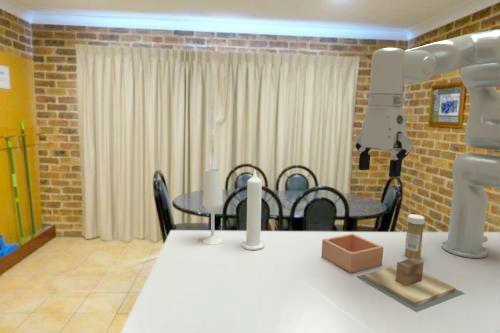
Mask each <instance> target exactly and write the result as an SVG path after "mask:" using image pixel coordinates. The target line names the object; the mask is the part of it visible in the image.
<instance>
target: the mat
mask: <svg viewBox="0 0 500 333" xmlns="http://www.w3.org/2000/svg"><path fill="white" fill-rule="evenodd" d="M395 266H397V264H396V265H395ZM390 267H391V266H390ZM390 267H388V268H390ZM379 270H380V269H379ZM379 270H377V271H379ZM370 273H372V272H370ZM365 274H366V273H364V274H361V275H356V278H357V279H359V280H360V281H362V282H364V283H365V284H367V285H369V286H371V287H372V288H374V289H376V290H377V291H378V292H381V293H383V294H384V295H385V296H388V297H389V298H392V299H393V300H395V301H396V302H397V303H400V304H402V305H403V306H405V307H406V308H409V309H410V310H411V311H414V312H415V313H418V312H420V311H423V310H426V309H428V308H430V307H434V306H436V305H439V304H441V303H443V302H444V303H445V302H446V301H449V300H452V299H455V298H457V297H459V296H462V295H464V294H466V292H464V291H461V290H459V289H457V288H456V290H455V292H453V293H451V294H448V295H445V296H443V297H440V298H437V299H435V300H432V301H429V302H426V303H424V304H421V305H418V306H416V307H414V306H412V305H411V304H409V303H407V302H405V301H404V300H402V299H400V298H398V297H397V296H395V295H393V294H391V293H390V292H388V291H386V290H384V289H383V288H381V287H379V286H377V285H376V284H374V283H372V282H370V281H369V280H367V279H365V278H364V276H365Z"/></svg>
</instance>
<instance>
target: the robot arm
mask: <svg viewBox="0 0 500 333" xmlns="http://www.w3.org/2000/svg"><path fill="white" fill-rule="evenodd" d="M370 65H371V66H370V67H371V68H370V77H369V78H370V79H369V89H368V90H369V91H368V100H367V108H366V110H365V114H364V117H363V123H362V127H361V132H359V133H358V134H356V135H355V136H353V139H354V143H355V148H356V149H357V155H359V156H358V157H359V160H358V170H360V171H369V170H370V164H371V163H370V162H371V154H370V152H371V150H377V151H387V152H389V155H390V156H391V158H392V159H390V161H389V171H388V176H389V177H390V178H396V177H401V172H402V166H403V165H402V163H403V161H404V160H405V159H406V157H407V156H408V155H409V154H410V151H412V148H413V147H414V144H415V142H414V141H412V140H411V139H410V138H409V137H407V136H406V134H407V133H406V132H407V131H406V130H407V128H406V126H407V125H406V123H407V121H406V111H405V108H402V104H404V103H405V102H406V98H405V97H404V96H403V93H404V84H417V83H419V84H420V83H422V82H426V81H428V80H429V79H431V78H432V77H433V76H438V75H444V74H448V73H451V72H455V71H457V70H460V71H459V72H460V73H459V74H460V79H461V83H462V84H463V85H464V86H465V89H466V91H467V94H468V96H469V99H470V106H469V112H468V117H467V121H466V127H465V131H464V132H465V133H464V142H465V145H466V146H468V147H469V148H472V149H475V150H477V149H478V150H485V151H493V152H500V92H499V90H497V89H496V87H500V28H499V29H496V28H495V29H491V30H486V31H480V32H474V33H473V32H472V33H468V34H464V35H460V36H459V35H458V36H456V37H452V38H447V39H445V40H443V39H442V40H440V41H435V42H432V43H428V44H425V45H422V46H418V47H414V48H409V49H405V50H404V49H403V48H400V47H383V48H379V49H376V50H375V51H374V52H373V53H372V55H371V64H370ZM451 169H452V170H451V172H452V181H453V182H452V183H453V185H452V187H453V188H452V189H453V190H452V200H451V207H450V215H449V216H450V217H449V224H448V225H449V226H448V233H447V240H446V239H445V240H443V241H442V242H441V248H442V249H443V250H444V251H446V252H448V253H450V254H453V255H456V256H458V257H463V258H464V257H465V258H470V259H480V258H481V259H482V258H485V257H487V255H488V250H487V249H486V247H485V248H484V247H483V243H486V242H488V241H489V238H488V237H487V236H486V235H484V233H485V228H486V227H485V226H486V219H487V214H488V213H487V212H488V205H489V198H488V197H489V196H488V194H487V192H486V190H485V189H484V187H488V188H494V189H500V155H494V154H487V153H479V152H478V153H477V152H465V153H461V154H459V155H457V156H456V157H455V158H454V160H453V162H452V168H451Z"/></svg>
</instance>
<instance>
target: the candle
mask: <svg viewBox="0 0 500 333" xmlns="http://www.w3.org/2000/svg"><path fill="white" fill-rule="evenodd" d="M246 183H247V188H246V190H247V191H246V193H247V194H246V234H245V235H246V240H245V241H244V242H242V245H241V246H242V248H243V249H244V250H248V251H252V252H253V251H261V250H264V248H265V243H264V242H262V241H261V230H262V229H261V226H262V224H261V222H262V196H263V195H262V194H263V193H262V191H263V185H262V184H263V181H262V179H260V178H259V176H258V175H257V170H256V169H254V170H253V175H252V176H251V177H250V178H249V179H247V182H246Z"/></svg>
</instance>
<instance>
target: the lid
mask: <svg viewBox="0 0 500 333" xmlns="http://www.w3.org/2000/svg"><path fill="white" fill-rule="evenodd" d="M424 263H425V262H424V261H422V260H417V259H415V258H411V259H408V258H406V259H403V260H400V261H398V262H396V265H397V266H396V265H393V266H390V268H389V267H386V268H382V269H379V271H378V270H376V271H373V272H372V273H371V272H369V273H364V274H365V276H364V278H365V279H367V280H369V281H370V282H372V283H374V284H376V285H377V286H379V287H381V288H383V289H384V290H386V291H388V292H390V293H391V294H393V295H395V296H397V297H398V298H400V299H402V300H404V301H405V302H407V303H409V304H411V305H412V306H414V307H416V306H418V305H421V304H424V303H426V302H429V301H432V300H435V299H437V298H440V297H443V296H445V295H448V294H451V293H453V292H455V290H456V289H457V288H456V287H455V286H453V285H451V284H449V283H446V282H443V281H441V280H439V279H437V278H435V277H434V276H431V275H429V274H427V273H424Z"/></svg>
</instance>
